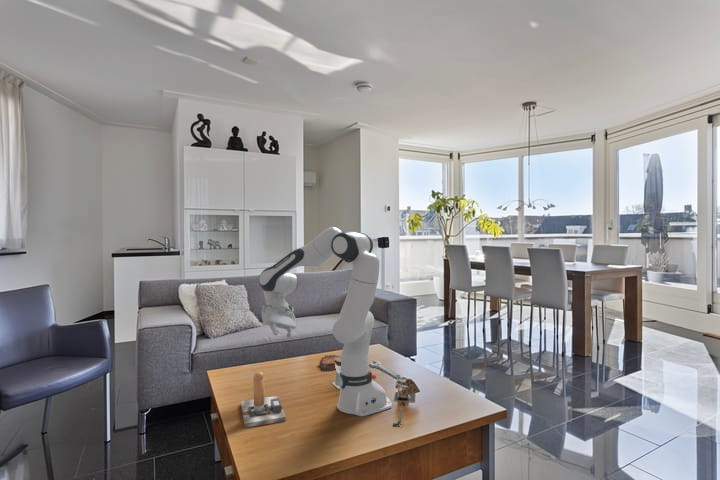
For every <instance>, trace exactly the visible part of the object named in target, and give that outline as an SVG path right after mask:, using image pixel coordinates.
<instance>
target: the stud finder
mask: <svg viewBox="0 0 720 480" xmlns="http://www.w3.org/2000/svg"><path fill="white" fill-rule="evenodd" d="M280 401H281V400H280V398H279V397H278V398H277V399H271V408H272V411H273V413H276V412H281V406H282V403H281V402H280Z"/></svg>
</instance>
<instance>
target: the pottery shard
mask: <svg viewBox="0 0 720 480" xmlns="http://www.w3.org/2000/svg"><path fill="white" fill-rule="evenodd" d="M335 357H341V355H337V354H329V355H327V354H326V355H324V356H322V358H321V359H320V360H319V367H320V368H321V372H329V371H334V370H336V369H335V363H334V358H335Z"/></svg>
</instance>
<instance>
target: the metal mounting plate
mask: <svg viewBox="0 0 720 480" xmlns="http://www.w3.org/2000/svg"><path fill="white" fill-rule="evenodd" d="M277 398H279V396H278V395H275V396H274V395H273V396H268V397H267V396H266V397H264V411H263V412H261V413H255V412H254V398H253V399H247V400H241V401H240V406H241V413H242V420H243V426H244V428H245V429H246V428H251V427H257V426H263V425H268V424H275V423H280V422H286V421H287V420H286V419H287V418H286V417H287V416H286V414H285V412H284V408H283V406H282V405H281V412H276V413H273V411H272V408H271V399H277Z"/></svg>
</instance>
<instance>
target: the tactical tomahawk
mask: <svg viewBox="0 0 720 480" xmlns="http://www.w3.org/2000/svg"><path fill="white" fill-rule="evenodd" d="M401 404H402V405H404V406H405V404H406V401H405V400H403V401H402V400H400V404H399V405H401ZM404 409H405V407H404V408H402V407H400V406H399V412H398V418H397V422H396V423H395V422H393V423H392V426H393V428H394V427H396V428H397V427H398V428H401V427H400V426H402V425H401V423H402V424H403V421H402V417H403V414H404ZM399 424H400V425H399Z"/></svg>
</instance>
